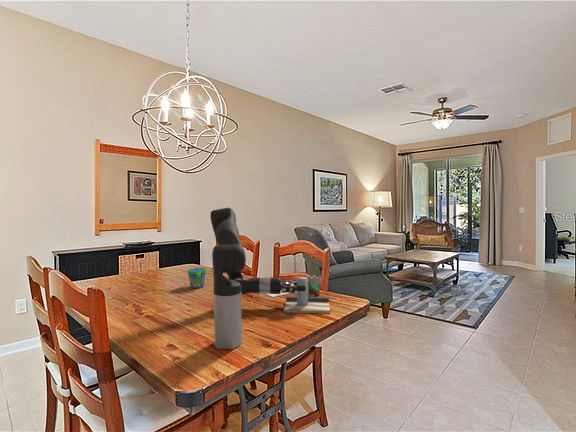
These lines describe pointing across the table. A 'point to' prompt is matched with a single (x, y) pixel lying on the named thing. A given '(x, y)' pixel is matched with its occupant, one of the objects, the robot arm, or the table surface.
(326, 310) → the board
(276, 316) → the table surface
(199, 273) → the snack cup
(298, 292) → the roller
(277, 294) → the photo frame
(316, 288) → the food container
